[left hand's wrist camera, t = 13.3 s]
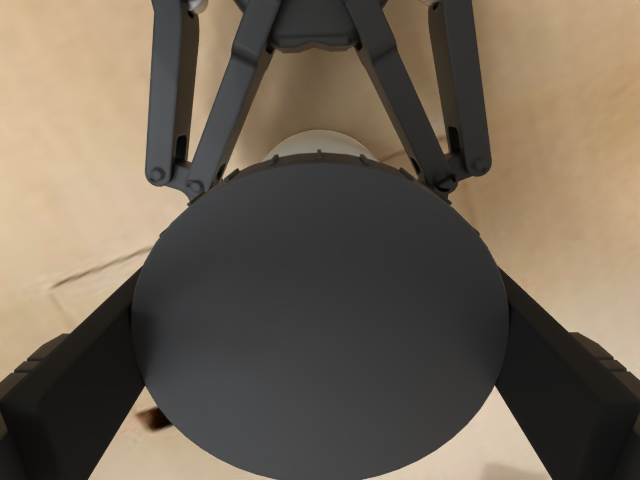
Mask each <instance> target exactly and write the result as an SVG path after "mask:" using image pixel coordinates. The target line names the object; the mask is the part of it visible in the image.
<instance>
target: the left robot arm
mask: <svg viewBox="0 0 640 480" xmlns="http://www.w3.org/2000/svg"><path fill="white" fill-rule="evenodd" d="M142 267H143V266H142ZM142 267H141V268H140V269H139V270H138V271H136V272H135V273H134V274H133V275H132V276H131V277H130V278H129V279H128V280H127V281H126V282H125V283H124V284H123V285H122V286H120V287H119V288H118V289H117V290H116V291H115V292H114V293H113V294H112V295H111V296H110V297H109V298H108V299H107V300H106V301H105V302H103V303H102V304H101V305H100V306H99V307H98V308H97V309H96V310H95V311H94V312H93V313H92V314H91V315H90V316H89V317H87V318H86V319H85V320H84V321H83V322H82V323H81V324H80V325H79V326H78V327H77V328H76V329H75V330H74V331H73V332H71V333H70V334H61V335H60V336H58V337H56V338H54V339H52V340H51V341H49V342H47V343H45V344H44V345H42V346H41V347H40V348H39V349H38V350H36V351H35V352H34V353H33V354H32V355H31V356H30V357H28V358H27V361H24V362H23V363H22V364H21V365H19V366H18V367H17V368H16V369H15V370H14V373H10V374H9V375H8V376H7V377H6V378H5V379H4V380H3V381H1V382H0V480H88V478H89V477H90V475H91V473H92V472H93V470H94V469H95V467H96V465H97V464H98V462H99V460H100V459H101V457H102V455H103V454H104V452H105V451H106V449H107V447H108V446H109V444H110V442H111V441H112V439H113V437H114V436H115V434H116V433H117V431H118V429H119V428H120V426H121V424H122V423H123V421H124V419H125V418H126V416H127V414H128V413H129V411H130V410H131V408H132V406H133V405H134V403H135V401H136V400H137V398H138V396H139V395H140V393H141V392H142V390H143V388H144V387H145V383H144V381H143V378H142V376H141V374H140V371H139V369H138V366H137V361H136V357H135V352H134V348H133V342H132V335H131V309H132V302H133V297H134V292H135V287H136V283H137V281H138V278H139V275H140V273H141V270H142ZM498 269H499V272H500V274H501V277H502V280H503V283H504V286H505V290H506V295H507V301H508V307H509V338H508V343H507V348H506V353H505V358H504V362H503V366H502V369H501V372H500V375H499V377H498V379H497V381H496V383H495V386H496V388H497V390H498V391H499V393H500V394H501V396H502V398H503V399H504V401H505V403H506V404H507V406H508V408H509V409H510V411H511V413H512V414H513V416H514V417H515V419H516V421H517V422H518V424H519V426H520V427H521V429H522V431H523V432H524V434H525V435H526V437H527V439H528V440H529V442H530V444H531V445H532V447H533V449H534V450H535V452H536V453H537V455H538V457H539V458H540V460H541V462H542V463H543V465H544V467H545V468H546V470H547V471H548V473H549V475H550V476H551V478H552V480H640V380H639V379H638V378H636V377H635V376H634V375H633V374H632V373H631V372H627V370H626V368H625V367H624V366H623V365H622V364H621V363H619V362H618V361H617V360H614V357H613V356H611V355H610V354H609V353H608V352H607V351H606V350H605V349H604V348H602V347H601V346H600V345H599V344H598V343H596V342H594V341H592V340H590V339H589V338H587V337H585V336H583V335H581V334H580V333H578V332H568V331H567V330H566V329H564V328H563V327H562V326H561V325H560V324H559V323H558V322H557V321H556V320H555V319H554V318H553V317H552V316H551V315H550V314H549V313H547V312H546V311H545V310H544V309H543V308H542V307H541V306H540V305H539V304H538V303H537V302H536V301H535V300H534V299H533V298H531V297H530V296H529V295H528V294H527V293H526V292H525V291H524V290H523V289H522V288H521V287H520V286H519V285H518V284H517V283H515V282H514V281H513V280H512V279H511V278H510V277H509V276H508V275H507V274H506V273H505V272H504V271H503V270H502V269H501V268H500V267H498Z"/></svg>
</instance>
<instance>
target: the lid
mask: <svg viewBox="0 0 640 480" xmlns="http://www.w3.org/2000/svg"><path fill="white" fill-rule="evenodd" d="M451 204H452V203H451V202H450V201H449V200H448V199H447V198H445V197H444V196H443V195H441V194H440V193H439V192H438V191H436V190H434V191H431V190H430V189H428V188H427V187H426V186H424V185H423V184H422V183H420V182H419V181H417V180H416V179H414V177H413V176H412V175H410V174H409V173H408V172H407V171H405V170H404V169H403V168H400V169H399V170H398V169H396V168H393V167H391V166H388V165H385V164H383V163H380V162H377V161H374V160H372V159H367V158H366V156H365V155H364V154H360V157H358V156H353V155H349V154H338V153H326V152H321V149H317V153H299V154H293V155H288V156H282V157H279V156H278V154H276V155H274V156H273V157H272V159H270V160H267V161H264V162H261V163H258V164H255V165H252V166H249V167H247V168H245V169H243V170H241V171H239V169H236V170H234V171H233V172H232V173H231V174H229V175H228V176H227V177H226V178H224V180H223V181H222V182H220V183H219V184H217V185H216V186H214V187H213V188H211V189H210V190H209V191H208V192H205V191H203V192H202V193H200V194H199V195H198V196H196V197H195V198H194V199H193V200H191V201H190V202H189V203H188V204H187V205H188V206H189V207H188V208H187V209H186V210H185V211H184V212H183V213H182V214H181V215H180V216H178V217H177V218H176V219H175V220H174V221H173V222H172V223H171V224H170V225H169V227H168V228H167V229H165V230H164V231H163V232H162V233H161V234H160V235H159V236H160V238H159V239H158V240H157V242H156V243H155V245H154V247H153V248H152V250H151V252H150V254H149V255H148V257H147V259H146V261H145V262H144V265H143V267H142V270H141V273H140V275H139V278H138V281H137V283H136V287H135V292H134V297H133V302H132V309H131V335H132V342H133V348H134V352H135V357H136V361H137V366H138V369H139V371H140V374H141V376H142V378H143V381H144V383H145V385H146V388H147V389H148V391H149V393H150V394H151V396H152V398H153V399H154V401H155V403H156V404H157V406H158V407H159V408H160V409H161V411H162V412H163V413H164V414H165V416H166V417H167V418H168V419H169V421H170V422H171V423H172V424H173V425H174V426H175V427H176V428H177V429H178V430H179V431H180V432H182V433H183V434H184V435H185V436H186V437H187V438H189V439H190V440H191V441H192V442H194V443H195V444H196V445H198V446H199V447H200V448H202V449H203V450H205V451H207V452H208V453H210V454H211V455H213V456H215V457H216V458H218V459H220V460H222V461H224V462H226V463H229V464H231V465H233V466H235V467H237V468H240V469H243V470H245V471H248V472H251V473H254V474H257V475H261V476H265V477H269V478H273V479H277V480H363V479H367V478H371V477H376V476H380V475H383V474H386V473H389V472H392V471H395V470H398V469H401V468H403V467H405V466H407V465H409V464H412V463H414V462H416V461H418V460H420V459H422V458H423V457H425V456H427V455H429V454H430V453H432V452H434V451H436V450H437V449H438V448H440V447H441V446H442V445H444V444H445V443H446V442H448V441H449V440H451V439H452V438H453V437H454V436H455V435H456V434H457V433H458V432H460V431H461V430H462V429H463V428H464V427H465V426H466V425H467V424H468V423H469V422H470V421H471V419H472V418H473V417H474V416H475V415H476V413H477V412H478V411H479V410H480V409H481V407H482V406H483V404H484V403H485V401H486V399H487V398H488V396H489V395H490V393H491V392H492V390H493V387H494V385H495V383H496V381H497V379H498V377H499V375H500V372H501V369H502V366H503V362H504V358H505V353H506V348H507V343H508V338H509V307H508V301H507V295H506V290H505V286H504V283H503V280H502V277H501V274H500V272H499V269H498V266H497V264H496V262H495V261H494V259H493V257H492V255H491V253H490V251H489V249H488V247H487V246H486V244H485V243H484V242H483V240H482V239H481V238H480V236H479V235H480V234H479V232H478V231H477V230H476V229H474V228H473V227H472V226H471V225H470V224H469V223H468V222H467V221H466V220H465V219H464V218H463V217H462V216H461V215H460V214H459V213H458V212H457V211H456V210H455V209H454V208H452V207H451V206H450V205H451Z"/></svg>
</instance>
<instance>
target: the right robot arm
mask: <svg viewBox="0 0 640 480" xmlns="http://www.w3.org/2000/svg"><path fill="white" fill-rule="evenodd" d="M151 1H152V5H153V9H154V27H153V44H152V61H151V78H150V96H149V113H148V130H147V147H146V164H145V175H146V178H147V180H148V181H149V182H150V183H151V184H152V185H154V186H160V187H162V186H164V185H165V186H168V187H171V188H174V189H177V190H180V191H182V192H183V193H185V194H186V195H187V197H188V198H189V200H190V201H191V200H193V199H194V198H195V197H196V196H198V195H199V194H200V193H202V192H203V191H205V192H208V191H209V190H210V189H211V188H213V187H214V186H216V185H217V184H219V183H220V182H222V181H223V179H222V176H223V174H224V171H225V169H226V167H227V164H228V162H229V159H230V157H231V154H232V152H233V149H234V147H235V144H236V142H237V139H238V137H239V134H240V132H241V129H242V127H243V124H244V122H245V119H246V117H247V114H248V112H249V109H250V107H251V104H252V102H253V99H254V97H255V94H256V92H257V89H258V87H259V84H260V82H261V80H262V77H263V75H264V73H265V71H266V69H267V68H268V66H269V64H270V61H271V59H272V56H273V54H274V51H275V49H276V50H279V51H281V52H282V53H299V52H302V51H305V50H308V49H310V48H314V47H315V48H319V49H323V50H327V51H346V50H347V49H348V48H351V47H353V46H354V48H355V50H356V52H357V55H358V57H359V59H360V61H361V63H362V64H363V66H364V67H365V69H366V70H367V72H368V74H369V76H370V78H371V80H372V83H373V85H374V87H375V89H376V91H377V93H378V95H379V97H380V99H381V101H382V103H383V105H384V107H385V109H386V112H387V114H388V116H389V118H390V120H391V122H392V124H393V126H394V128H395V130H396V132H397V134H398V136H399V139H400V141H401V143H402V145H403V147H404V149H405V151H406V153H407V155H408V157H409V159H410V161H411V163H412V165H413V168H414V170H415V172H416V174H417V176H418V181H419V182H420V183H422V184H423V185H424V186H426V187H427V188H428V189H430V190H431V191H434V190H436V191H438V192H439V193H440V194H441V195H443V196H444V197H445V198H447V199H448V194H449V193H451V192H453V191H454V190H455V189H456V187H457V185H458V181H461V180H463V179H466V178H469V177H471V176H475V177H478V176H482V175H484V174H486V173H487V172H488V171H489V169H490V167H491V163H492V160H491V152H490V144H489V136H488V128H487V120H486V112H485V104H484V96H483V88H482V80H481V72H480V64H479V56H478V48H477V40H476V32H475V25H474V17H473V9H472V0H419V1H420V2H421V3H422V4H424V5H426V6H429V9H428V23H429V32H430V38H431V45H432V51H433V57H434V63H435V69H436V75H437V81H438V87H439V93H440V100H441V106H442V112H443V118H444V124H445V130H446V136H447V142H448V148H449V153H447V154H443V151H442V149H441V147H440V145H439V142H438V140H437V138H436V136H435V133H434V131H433V129H432V127H431V125H430V122H429V120H428V118H427V116H426V113H425V111H424V109H423V107H422V105H421V102H420V100H419V98H418V96H417V93H416V91H415V89H414V87H413V84H412V82H411V80H410V78H409V76H408V73H407V71H406V69H405V67H404V64H403V62H402V60H401V58H400V56H399V53H398V51H397V46H396V41H395V38H394V36H393V33H392V31H391V29H390V27H389V24H388V22H387V20H386V18H385V15H384V13H383V11H382V9H383V7H384V6H385V4H386V3H387V1H388V0H233V1H234V2H235V3H236V5H237V6H238V7H239V9H240V10H241V11H242V13H243V17H242V19H241V22H240V25H239V28H238V30H237V33H236V36H235V39H234V41H233V45H232V50H231V58H230V61H229V63H228V66H227V69H226V71H225V74H224V77H223V80H222V82H221V85H220V88H219V90H218V93H217V96H216V99H215V101H214V104H213V107H212V109H211V112H210V115H209V117H208V120H207V123H206V126H205V128H204V131H203V134H202V136H201V139H200V142H199V145H198V147H197V150H196V153H195V155H194V158H193V161H192V162H188V161H187V159H188V148H189V138H190V127H191V117H192V107H193V96H194V86H195V76H196V65H197V55H198V45H199V18H198V14H200V13H202V12H203V11H205V9H206V8H207V6H208V0H151Z"/></svg>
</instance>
